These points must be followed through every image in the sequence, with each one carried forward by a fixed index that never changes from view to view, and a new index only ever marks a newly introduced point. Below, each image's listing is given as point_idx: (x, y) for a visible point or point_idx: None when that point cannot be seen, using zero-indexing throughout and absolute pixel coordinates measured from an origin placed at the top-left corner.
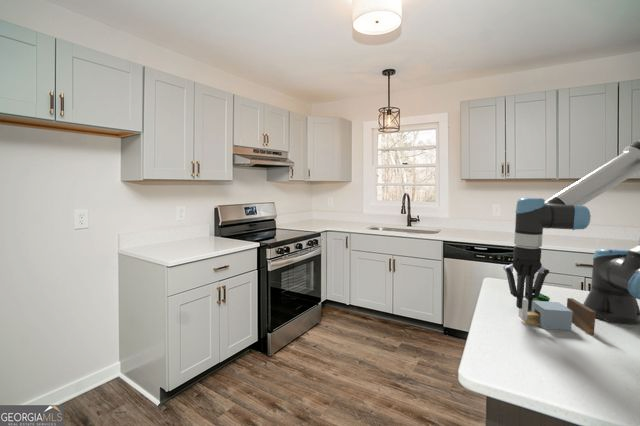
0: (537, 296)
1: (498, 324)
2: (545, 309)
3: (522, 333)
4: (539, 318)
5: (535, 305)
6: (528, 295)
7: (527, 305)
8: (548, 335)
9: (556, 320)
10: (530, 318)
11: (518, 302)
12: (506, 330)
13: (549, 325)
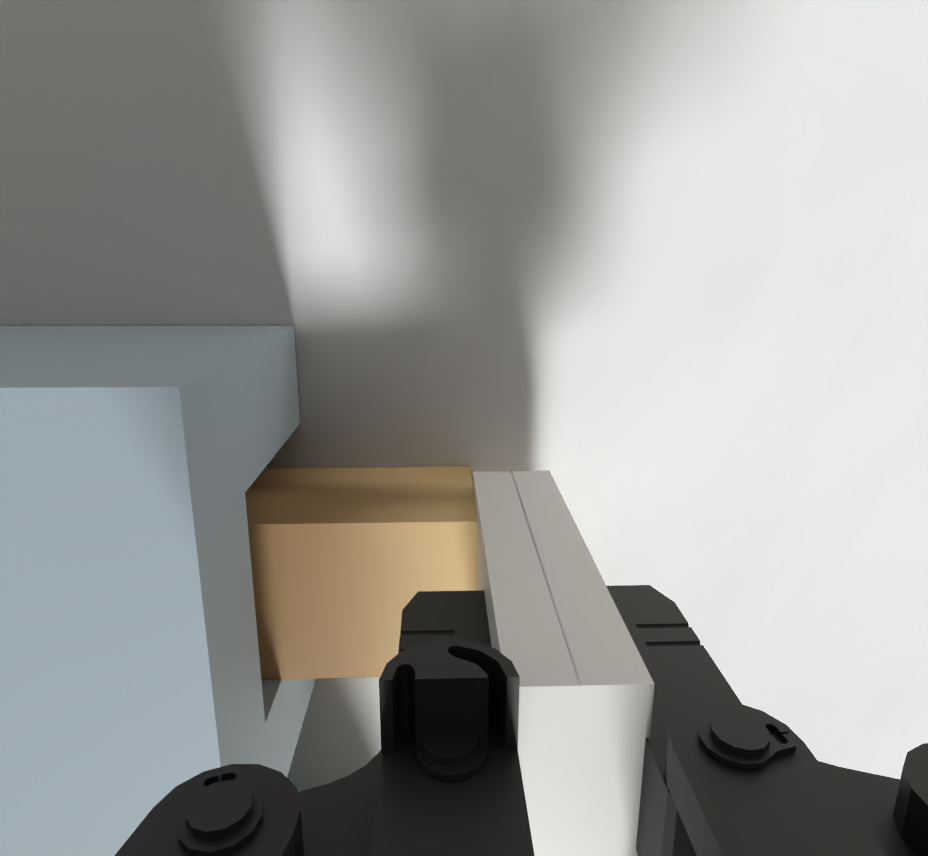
0: (183, 815)
1: (920, 339)
2: (143, 385)
3: (715, 34)
4: (267, 500)
5: (241, 754)
6: (522, 829)
7: (502, 599)
8: (318, 32)
9: (15, 346)
10: (411, 498)
11: (715, 666)
12: (917, 113)
13: (179, 329)
